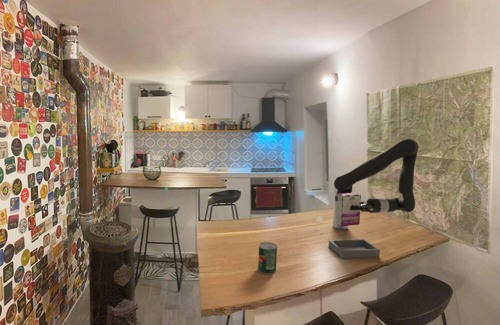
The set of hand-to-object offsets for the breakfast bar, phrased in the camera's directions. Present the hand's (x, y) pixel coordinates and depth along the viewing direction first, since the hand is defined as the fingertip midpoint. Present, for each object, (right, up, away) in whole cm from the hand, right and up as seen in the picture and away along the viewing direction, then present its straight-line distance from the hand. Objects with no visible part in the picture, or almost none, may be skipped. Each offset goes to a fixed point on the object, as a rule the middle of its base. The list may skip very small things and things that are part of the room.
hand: (348, 206), depth 157 cm
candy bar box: (0, -10, +1) cm, 10 cm away
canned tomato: (-44, -24, -27) cm, 57 cm away
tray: (+1, -22, -5) cm, 23 cm away
